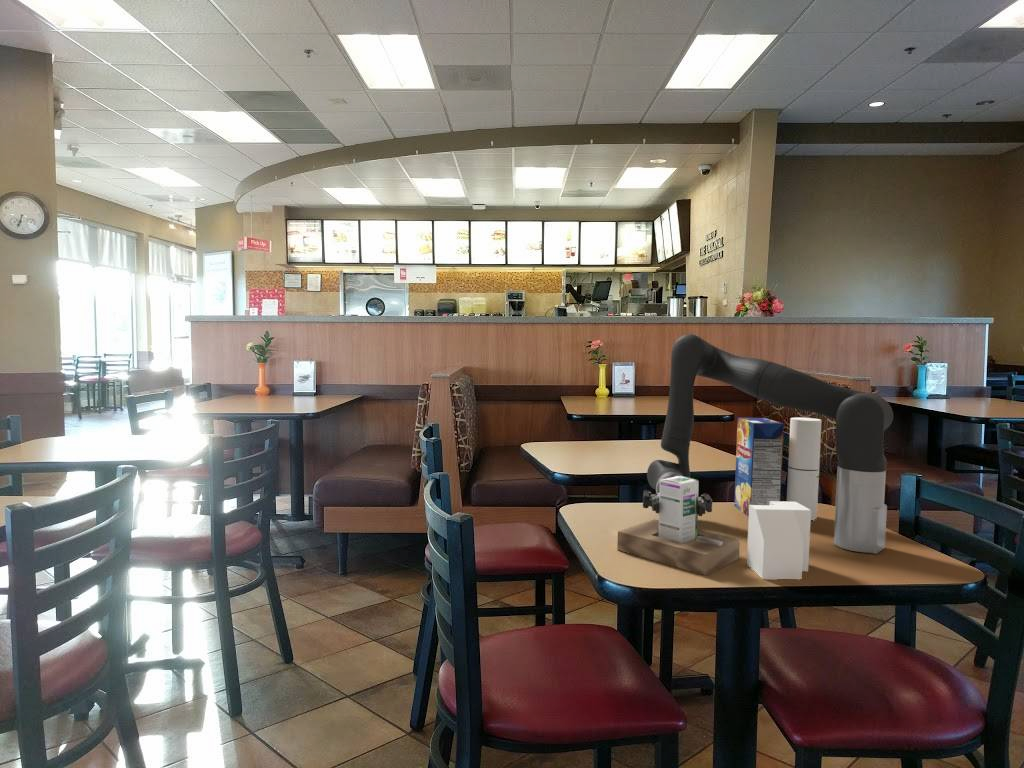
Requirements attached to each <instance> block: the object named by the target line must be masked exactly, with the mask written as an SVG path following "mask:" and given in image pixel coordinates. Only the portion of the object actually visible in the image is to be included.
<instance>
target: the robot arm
mask: <svg viewBox="0 0 1024 768" xmlns="http://www.w3.org/2000/svg"><path fill="white" fill-rule="evenodd" d="M697 376H698V377H703V378H707V379H710V380H715V381H718V382H722V383H725V384H727V385H730V386H731V387H733V388H735V389H738V390H739V391H741V392H743V393H745V394H748V395H749V396H752V397H754V398H757V399H759V400H762V401H764V402H767V403H770V404H772V405H776V406H779V407H783V408H788V409H792V410H797V411H803V412H808V413H815V414H819V415H821V416H825V417H827V418H830V419H832V420H835V453H836V457H837V472H836V473H837V474H836V489H835V490H836V491H835V492H836V493H835V508H834V509H835V510H834V511H835V512H834V529H833V530H834V531H833V544H834V545H835V546H836V547H838V548H840V549H843V550H847V551H852V552H858V553H865V554H866V553H869V554H874V555H877V554H879V553H880V552H881V551H883V550H884V549H885V548H886V534H887V533H886V532H887V530H886V529H887V514H888V506H887V504H885V494H886V477H887V475H886V473H887V458H886V456H885V453H884V452H885V451H884V437H885V436H884V433H885V430H887V429H888V428H889V427H890V426H891V424H892V422H893V420H894V412H893V409H892V407H891V404H890V403H889V402H888V401H887V400H886V399H885V398H883V397H882V396H880V395H877V394H875V393H871V392H870V393H869V392H866V391H860V390H856V389H851V388H848V387H847V388H846V387H844V386H838V385H835V384H832V383H829V382H826V381H824V380H822V379H819V378H816V377H815V376H813V375H810V374H808V373H807V374H806V373H805V372H802V371H799V370H796V369H793V368H791V367H788V366H786V365H783V364H781V363H780V364H779V363H777V362H774V361H769V360H766V359H762V358H761V359H760V358H753V357H743V356H738V355H735V354H732V353H729V352H727V351H725V350H723V349H721V348H718V347H717V346H714V345H713V344H712V343H709V342H708V341H706V340H705V339H703V337H700V336H698V335H696V334H691V333H689V334H684V335H682V336H680V337H679V338H678V339H676V341H675V342H674V344H673V346H672V349H671V357H670V382H669V393H668V403H667V411H666V416H665V422H664V427H663V431H662V436H661V440H660V447H661V449H662V450H664V451H666V452H668V453H670V454H672V455H674V456H675V457H676V458H677V461H678V463H677V462H672V461H668V460H667V461H666V460H662V459H656V460H653V461H652V462H651V463H650V464H649V465H648V467H647V472H646V477H647V478H646V479H647V482H648V484H649V486H650V487H651V488H652V489H654V490H655V494H652V492H651V491H650V490H647V489H644V490H643V494H642V495H643V496H642V508H644V509H649V507H651V510H652V511H653V512H655V514H659V509H660V503H659V485H660V480H661V479H666V478H671V477H675V476H682V477H688V478H691V470H690V457H689V455H690V446H691V440H692V435H693V430H694V424H695V423H694V421H695V409H694V389H695V382H696V381H695V380H696V377H697ZM706 512H707V513H712V512H713V498H711V496H710V495H709V494H708V493H705V492H704V493H703V494H701V495H700V496H698V517H703V515H705V514H706Z"/></svg>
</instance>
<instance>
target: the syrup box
mask: <svg viewBox="0 0 1024 768" xmlns="http://www.w3.org/2000/svg"><path fill="white" fill-rule="evenodd" d="M699 482H700V481H699V480H698V479H695V478H692V477H690V478H688V477H682V476H675V477H671V478H666V479H661V480H660V485H659V503H660V509H659V513H658V520H659V536H658V537H661V538H664V539H668V540H672V541H676V542H680V543H684V544H686V543H689V542H691V541H694V540H696V537H697V529H698V524H699V523H698V522H699V519H698V518H699V516H698V497H699V486H700V485H699ZM698 530H699V529H698Z"/></svg>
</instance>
